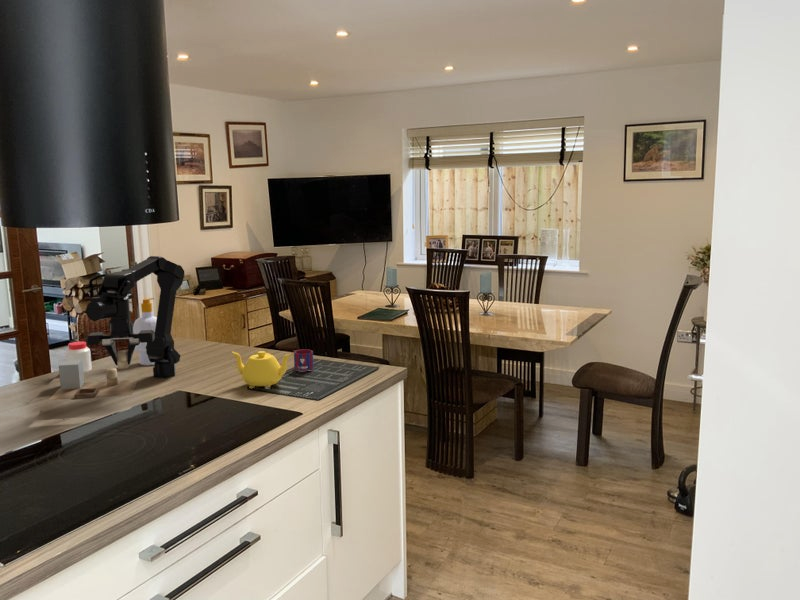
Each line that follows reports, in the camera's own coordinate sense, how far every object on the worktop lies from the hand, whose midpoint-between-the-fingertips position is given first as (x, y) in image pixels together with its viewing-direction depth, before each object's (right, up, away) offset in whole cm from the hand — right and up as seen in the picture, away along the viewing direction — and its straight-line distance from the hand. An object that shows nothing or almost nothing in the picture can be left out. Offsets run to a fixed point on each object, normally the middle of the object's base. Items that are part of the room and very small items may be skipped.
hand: (123, 364), depth 197 cm
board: (-10, -10, +5) cm, 15 cm away
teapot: (+40, -8, +15) cm, 44 cm away
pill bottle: (-27, -6, +26) cm, 38 cm away
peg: (-8, -7, +9) cm, 14 cm away
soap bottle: (-7, -4, +40) cm, 41 cm away
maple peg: (0, -1, 0) cm, 1 cm away
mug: (+51, -5, +34) cm, 61 cm away
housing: (-19, -8, +8) cm, 22 cm away
